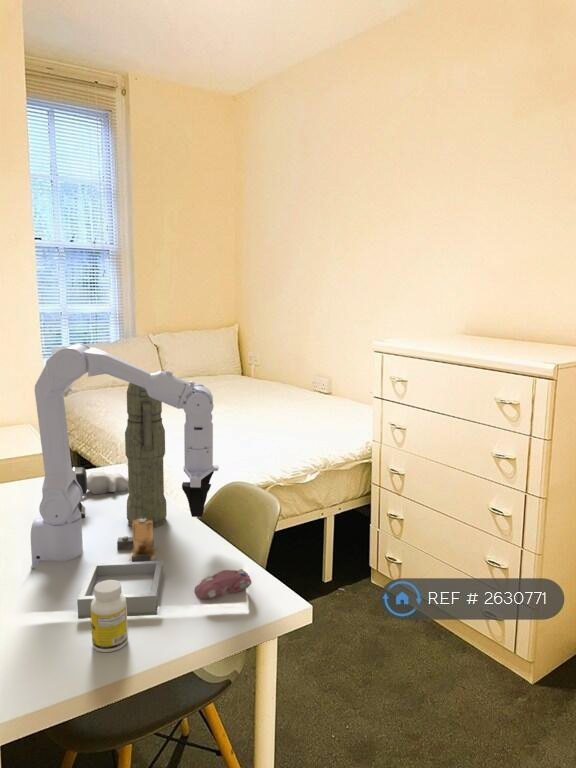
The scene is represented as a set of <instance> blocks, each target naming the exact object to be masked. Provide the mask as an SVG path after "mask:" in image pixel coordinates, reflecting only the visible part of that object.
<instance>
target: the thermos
mask: <svg viewBox="0 0 576 768" xmlns="http://www.w3.org/2000/svg"><path fill="white" fill-rule="evenodd" d="M127 386H128V387H127V390H126V413H127V419H126V420H127V421H126V422H127V425H126V428H125V432H124V444H125V445H124V446H125V447H124V449H125V456H126V458H127V472H128V473H127V474H128V475H127V478H128V484H129V487H128V496H127V500H126V519H127V523H128V525H129V527H131V528H132V522H133V521H134V520H136V519H139V518H149V519H151V520H152V521H153V529H154V528H158V527H161V526H162V525H164V524H165V522H166V519H167V514H168V513H167V512H168V511H167V499H166V497H165V483H164V482H165V481H164V476H165V475H164V457H165V455H166V430H165V427H164V424H163V418H162V413H163V409H162V408H163V407H162V406H163V402H161V401H158V400H156V399H153V398H151V397H149V395H148V393H147V391H146V389H145V388H143V387H140V386H138V385H135V384H132V383H130V382H128V385H127Z"/></svg>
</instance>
